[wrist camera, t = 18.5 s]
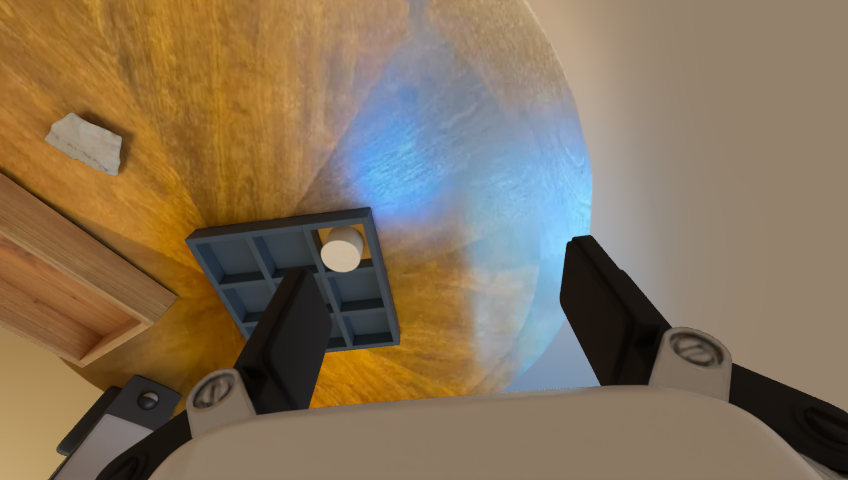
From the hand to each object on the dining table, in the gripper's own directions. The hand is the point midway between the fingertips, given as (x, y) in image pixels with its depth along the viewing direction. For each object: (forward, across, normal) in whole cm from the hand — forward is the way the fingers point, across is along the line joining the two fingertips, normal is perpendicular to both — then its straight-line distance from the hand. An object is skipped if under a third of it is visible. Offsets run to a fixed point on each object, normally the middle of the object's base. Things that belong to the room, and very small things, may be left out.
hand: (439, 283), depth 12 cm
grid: (+24, +18, +19) cm, 36 cm away
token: (+24, +12, +12) cm, 29 cm away
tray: (+24, +50, +7) cm, 55 cm away
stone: (+24, +33, -3) cm, 41 cm away
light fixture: (+23, +49, +35) cm, 64 cm away
